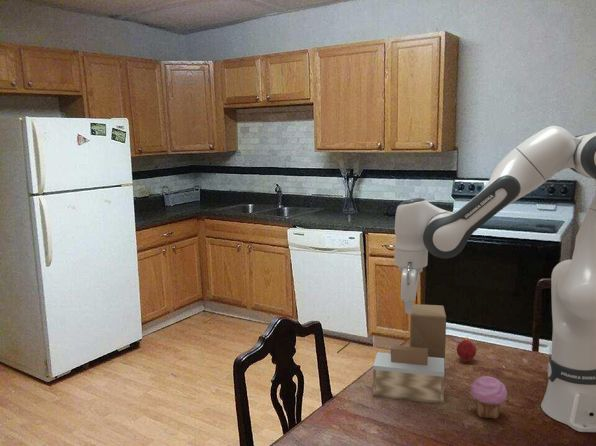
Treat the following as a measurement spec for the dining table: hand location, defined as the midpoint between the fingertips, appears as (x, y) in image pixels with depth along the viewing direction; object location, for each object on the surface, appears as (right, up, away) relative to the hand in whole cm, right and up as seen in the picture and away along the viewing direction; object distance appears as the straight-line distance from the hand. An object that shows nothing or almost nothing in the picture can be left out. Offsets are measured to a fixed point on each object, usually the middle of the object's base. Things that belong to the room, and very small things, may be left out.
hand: (409, 307), depth 140 cm
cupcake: (+19, -27, -8) cm, 33 cm away
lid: (0, -17, +3) cm, 17 cm away
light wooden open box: (+1, -25, +4) cm, 25 cm away
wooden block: (+9, -23, +16) cm, 30 cm away
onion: (+23, -21, +23) cm, 39 cm away
